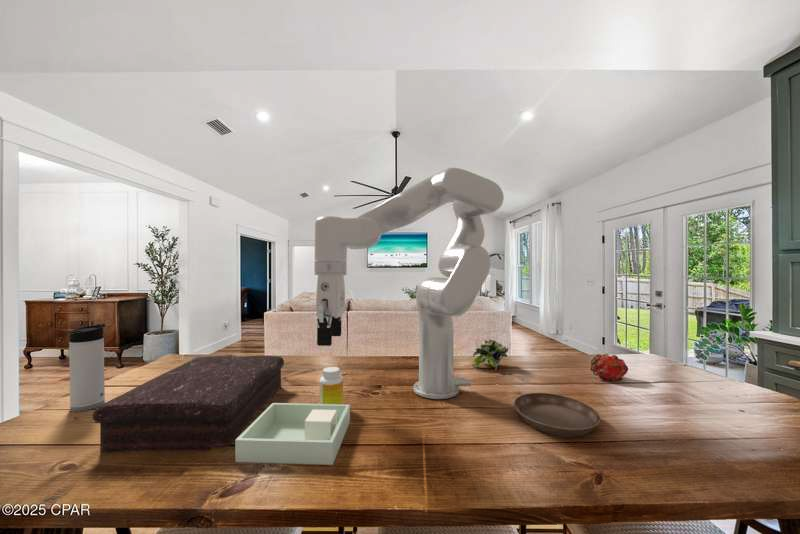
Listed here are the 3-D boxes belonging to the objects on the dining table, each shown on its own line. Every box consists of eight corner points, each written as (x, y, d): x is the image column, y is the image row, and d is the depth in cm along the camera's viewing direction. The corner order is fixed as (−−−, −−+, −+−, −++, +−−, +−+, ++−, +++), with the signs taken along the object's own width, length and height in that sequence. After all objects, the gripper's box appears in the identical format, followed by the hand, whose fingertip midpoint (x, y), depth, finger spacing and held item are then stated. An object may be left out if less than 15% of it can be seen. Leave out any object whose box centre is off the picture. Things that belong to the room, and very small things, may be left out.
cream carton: (336, 434, 68) (336, 409, 68) (330, 447, 63) (330, 421, 63) (312, 433, 69) (312, 409, 69) (304, 447, 64) (304, 421, 64)
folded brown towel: (228, 454, 63) (228, 402, 63) (90, 457, 62) (89, 404, 62) (285, 386, 97) (285, 352, 97) (196, 387, 96) (195, 353, 96)
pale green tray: (349, 424, 74) (349, 404, 74) (332, 467, 58) (332, 442, 58) (272, 422, 74) (272, 402, 74) (235, 465, 59) (235, 440, 59)
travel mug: (111, 403, 85) (110, 324, 84) (77, 414, 79) (76, 329, 78) (98, 399, 87) (97, 322, 87) (65, 409, 81) (63, 327, 81)
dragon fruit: (586, 383, 103) (623, 388, 104) (603, 375, 96) (642, 380, 97) (580, 356, 108) (615, 361, 109) (596, 347, 101) (633, 352, 102)
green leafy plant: (489, 379, 117) (506, 350, 119) (502, 385, 106) (520, 352, 109) (463, 361, 117) (480, 332, 120) (472, 365, 107) (491, 333, 109)
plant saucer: (615, 446, 66) (615, 431, 66) (521, 437, 69) (521, 423, 69) (583, 407, 83) (583, 395, 83) (509, 402, 86) (509, 390, 86)
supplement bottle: (347, 412, 80) (347, 369, 80) (326, 419, 76) (326, 374, 76) (336, 404, 84) (336, 364, 84) (315, 410, 81) (315, 368, 80)
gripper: (337, 269, 71) (337, 350, 71) (353, 268, 88) (352, 333, 88) (303, 269, 71) (302, 349, 71) (324, 268, 88) (324, 332, 89)
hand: (329, 340), depth 80 cm, fingers open, 9 cm apart
